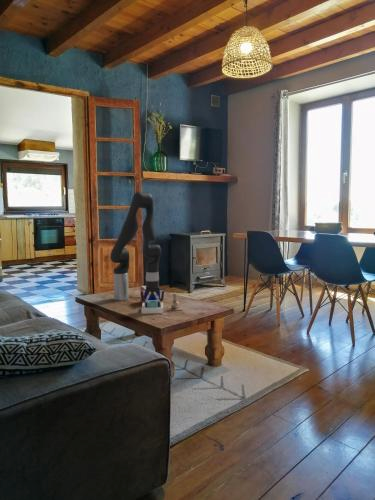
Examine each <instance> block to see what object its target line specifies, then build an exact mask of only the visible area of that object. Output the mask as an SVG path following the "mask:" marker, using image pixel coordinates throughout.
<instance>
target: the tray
mask: <svg viewBox="0 0 375 500" xmlns="http://www.w3.org/2000/svg"><path fill="white" fill-rule="evenodd" d="M142 314H146V315H147V314H164V302H160V307H159V308H146V307H145V303H142V305H141V315H142Z"/></svg>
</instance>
